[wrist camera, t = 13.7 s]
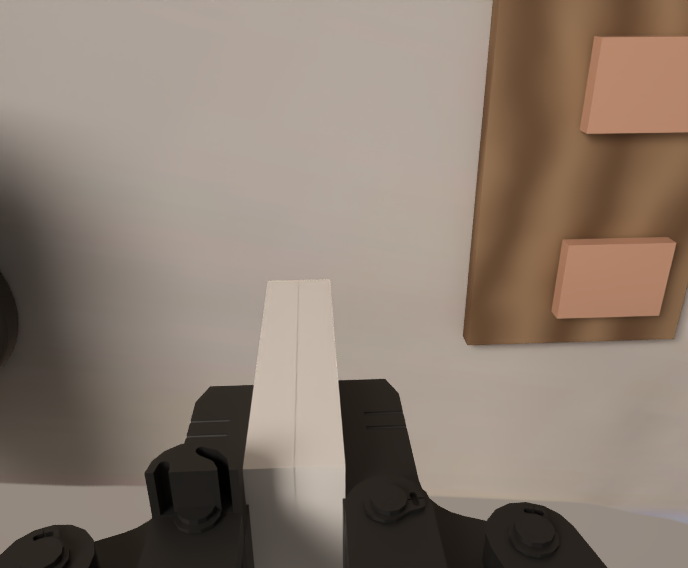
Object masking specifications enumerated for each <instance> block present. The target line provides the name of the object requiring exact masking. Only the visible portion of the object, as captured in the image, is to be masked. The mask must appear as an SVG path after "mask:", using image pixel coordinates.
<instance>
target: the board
mask: <svg viewBox="0 0 688 568" xmlns="http://www.w3.org/2000/svg"><path fill="white" fill-rule="evenodd" d="M686 35H688V0H493V7H492V18H491V29H490V40H489V51H488V63H487V74H486V85H485V96H484V107H483V118H482V129H481V141H480V152H479V163H478V174H477V185H476V196H475V207H474V218H473V230H472V241H471V252H470V263H469V274H468V285H467V296H466V308H465V319H464V330H463V337H464V339H465V341H466V344H467V345H488V344H520V343H552V342H584V341H617V340H649V339H674V336H675V332H676V328H677V324H678V320H679V316H680V313H681V309H682V305H683V301H684V297H685V293H686V289H687V285H688V132H674V133H605V134H586V133H584V132H582V131H580V125H581V118H582V112H583V106H584V99H585V93H586V86H587V80H588V73H589V67H590V61H591V54H592V48H593V41H594V36H686ZM648 237H668V238H670V239H671V240H673V241H674V242H676V247H675V251H674V255H673V259H672V264H671V268H670V272H669V276H668V280H667V285H666V289H665V293H664V297H663V301H662V305H661V310H660V314H659V316H632V317H597V318H563V319H557V318H556V317H555V315H554V314H553V313H552V312H551V311H552V304H553V298H554V291H555V285H556V278H557V272H558V266H559V259H560V253H561V246H562V240H563V239H604V238H648Z"/></svg>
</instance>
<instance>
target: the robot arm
mask: <svg viewBox="0 0 688 568" xmlns="http://www.w3.org/2000/svg"><path fill="white" fill-rule="evenodd" d="M17 332H18V316H17V309H16V305H15V301H14V298H13V296H12V293H11V291H10V289H9V287H8V285H7V283H6V281H5V279H4V278H3V276H2V275H1V273H0V368H1V367H2V366H3V364H4V363H5V362H6V360H7V359H8V357H9V356H10V354H11V352H12V350H13V348H14V345H15V342H16V338H17ZM145 479H146V484H147V490H148V495H149V500H150V507H151V512H152V519H151V520H149V521H148V522H146V523H144V524H143V525H141V526H139V527H138V528H135V529H133V530H130V531H127V532H125V533H122V534H119V535H115V536H112V537H109V538H105V539H102V540H99V541H95V542H94V540H93V539H92V537H91V536H90V535H89V534H88V533H87V532H86V530H84V529H81V528H79V527H76V526H73V525H52V526H49V527H45V528H42V529H38V530H35V531H33V532H31V533H29V534H27V535H25V536H24V537H22V538H20V539H18V540H16V541H15V542H14V543H13V544H12V545H11V546H9V547H8V548H7V549H6V550H5V551H4V552H3V553H2V554H1V555H0V568H607V567H606V565H605V564H604V563H603V562H602V561H601V559H600V558H599V557H598V556H597V554H596V553H595V552H594V551H593V550H592V548H591V547H590V546H589V545H588V544H587V542H586V541H585V540H584V539H583V537H582V536H581V535H580V534H579V533H578V531H577V530H576V529H575V528H574V526H573V525H571V524H570V523H569V522H568V521H567V520H566V519H565V518H564V517H562V516H561V515H560V514H558V513H556V512H555V511H553V510H550V509H549V508H546V507H545V506H541V505H537V504H531V503H527V502H522V503H509V504H507V505H505V506H502V507H500V508H498V509H496V510H495V511H494V512H493V513H492V515H491V516H490V518H488V520H487V521H484V520H480V519H475V518H471V517H465V516H462V515H459V514H455V513H452V512H450V511H448V510H446V509H444V508H442V507H440V506H438V505H437V504H436V503H434V502H433V501H432V500H431V499H430V498H429V497H428V495H427V493H426V492H425V491H424V490H423V489H422V487H421V485H420V482H419V479H418V475H417V471H416V466H415V462H414V458H413V453H412V449H411V445H410V440H409V436H408V432H407V428H406V423H405V419H404V414H403V410H402V406H401V401H400V397H399V393H398V392H397V391H396V390H395V389H394V388H393V387H392V386H391V385H390V384H389V383H388V382H387V380H386V379H369V380H339V381H338V371H337V359H336V347H335V335H334V323H333V311H332V299H331V287H330V279H321V280H282V281H268V283H267V290H266V298H265V305H264V313H263V320H262V328H261V335H260V343H259V351H258V358H257V366H256V373H255V381H254V385H242V386H212V387H209V388H208V390H207V391H206V392H205V393H204V394H203V395H202V396H201V397H200V398H199V399H198V400H197V401H196V403H195V407H194V410H193V414H192V418H191V424H190V425H189V429H188V433H187V438H186V440H185V444H180V445H178V446H176V447H173V448H171V449H169V450H166V451H164V452H163V453H162V454H161V455H159V456H158V457H157V458H155V459H154V460H153V461H152V462H151V464H150V465H149V467H148V469H147V470H146V472H145Z"/></svg>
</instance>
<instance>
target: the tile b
mask: <svg viewBox="0 0 688 568" xmlns="http://www.w3.org/2000/svg"><path fill="white" fill-rule="evenodd" d="M580 131H582V132H584V133H586V134H605V133H674V132H688V35H686V36H594V41H593V48H592V54H591V61H590V67H589V73H588V80H587V86H586V93H585V99H584V106H583V112H582V118H581V125H580Z"/></svg>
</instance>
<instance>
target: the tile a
mask: <svg viewBox="0 0 688 568" xmlns="http://www.w3.org/2000/svg"><path fill="white" fill-rule="evenodd" d="M675 247H676V242H674V241H673V240H671V239H670V238H668V237H648V238H604V239H563V240H562V246H561V253H560V259H559V266H558V272H557V278H556V285H555V291H554V298H553V304H552V311H551V312H552V313H553V314H554V315H555V317H556V318H557V319H563V318H597V317H632V316H659V314H660V310H661V305H662V301H663V297H664V293H665V289H666V285H667V280H668V276H669V272H670V268H671V264H672V259H673V255H674V251H675Z"/></svg>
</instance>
